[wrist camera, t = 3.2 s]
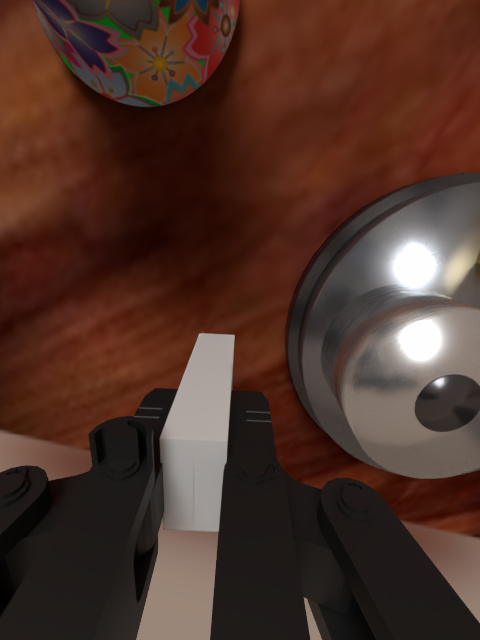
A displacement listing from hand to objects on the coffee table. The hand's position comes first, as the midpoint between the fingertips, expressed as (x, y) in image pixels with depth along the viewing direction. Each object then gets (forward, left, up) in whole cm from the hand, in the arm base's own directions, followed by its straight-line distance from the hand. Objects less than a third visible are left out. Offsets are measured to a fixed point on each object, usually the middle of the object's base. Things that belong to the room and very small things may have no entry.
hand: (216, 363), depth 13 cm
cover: (+9, 0, -2) cm, 9 cm away
